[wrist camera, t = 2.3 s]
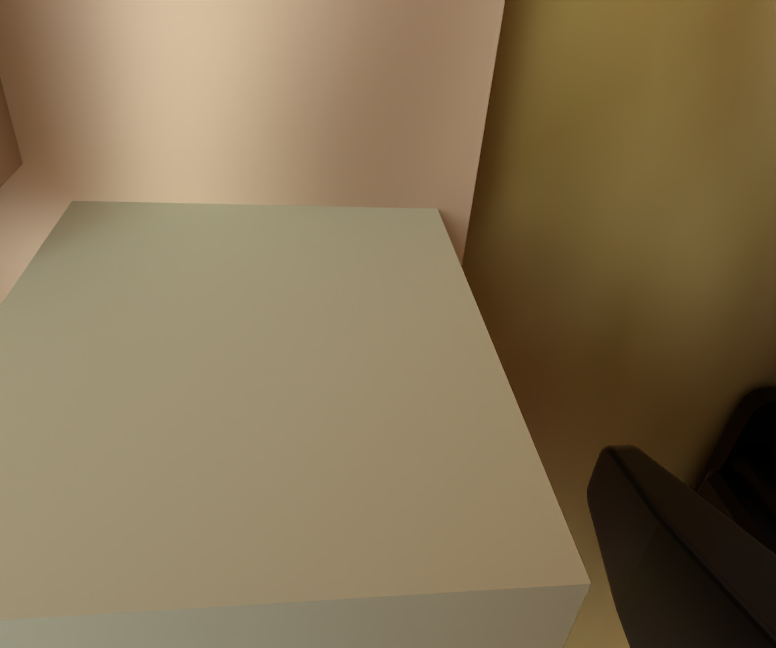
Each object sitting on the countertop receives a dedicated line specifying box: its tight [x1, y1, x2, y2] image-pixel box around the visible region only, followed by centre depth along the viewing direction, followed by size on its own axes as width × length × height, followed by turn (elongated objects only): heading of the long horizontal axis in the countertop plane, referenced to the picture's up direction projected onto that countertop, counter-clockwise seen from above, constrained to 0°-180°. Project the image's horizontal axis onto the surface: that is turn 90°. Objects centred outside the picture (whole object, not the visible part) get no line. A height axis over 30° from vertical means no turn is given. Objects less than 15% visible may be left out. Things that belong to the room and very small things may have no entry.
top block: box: [0, 201, 591, 648], centre depth 8 cm, size 5×5×6 cm
